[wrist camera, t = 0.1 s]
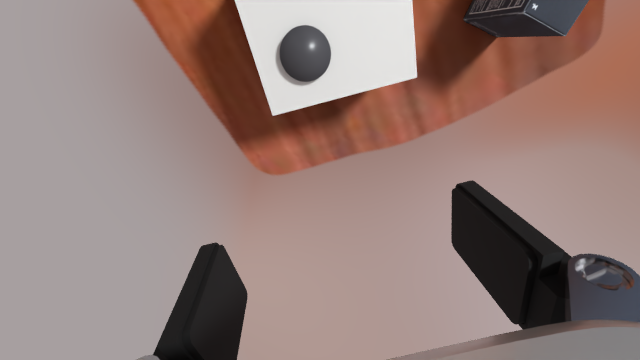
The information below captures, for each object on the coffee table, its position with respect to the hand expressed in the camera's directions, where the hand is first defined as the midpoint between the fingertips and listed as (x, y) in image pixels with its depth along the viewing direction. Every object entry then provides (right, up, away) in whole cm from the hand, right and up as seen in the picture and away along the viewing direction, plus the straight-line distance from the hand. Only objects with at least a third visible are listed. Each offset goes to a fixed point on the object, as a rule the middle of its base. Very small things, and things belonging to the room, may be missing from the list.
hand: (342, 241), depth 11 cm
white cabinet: (-1, +22, +24) cm, 32 cm away
